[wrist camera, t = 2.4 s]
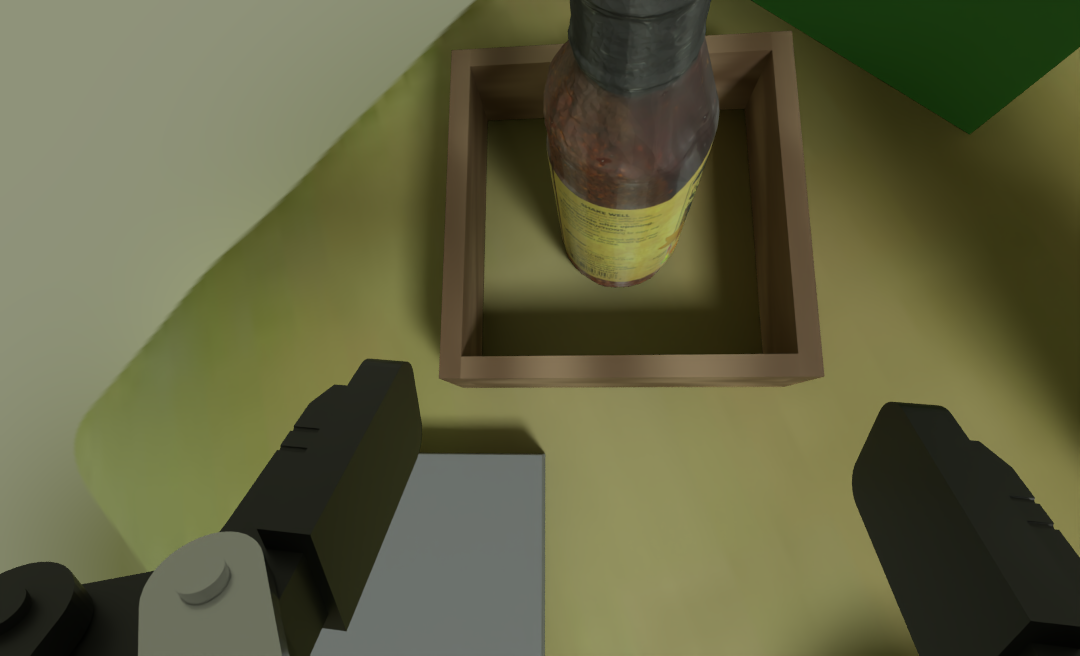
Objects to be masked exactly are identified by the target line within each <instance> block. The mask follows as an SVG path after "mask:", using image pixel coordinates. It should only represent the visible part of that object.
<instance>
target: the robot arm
mask: <svg viewBox="0 0 1080 656" xmlns="http://www.w3.org/2000/svg"><path fill="white" fill-rule="evenodd" d="M421 439H422V423H421V417H420V411H419V404H418V398H417V392H416V386H415V380H414V374H413V369H412V366H411V364H410V363H409V362H404V361H392V360H379V359H366V360H364V361H363V362H362V364H361V365H360V367H359V368H358V370H357V371H356V373H355V374H354V376H353V378H352V379H351V381H350V382H349V384H348V385H347V386H345V385H333V386H332V387H331V388H329V389H328V390H327V391H325V392H324V393H323V394H321V395H320V396H319V397H317V398H316V399H315V400H313V401H312V402H311V403H310V404H309V405H308V406H307V408H306V409H305V411H304V412H303V414H302V415H301V416H300V418H299V419H298V421H297V422H296V424H295V425H294V430H293V431H290V432H289V434H288V435H287V437H286V438H285V439H284V441H283V442H282V444H281V448H280V450H277V451H276V452H275V454H274V455H273V457H272V458H271V460H270V461H269V462H268V464H267V465H266V467H265V468H264V470H263V471H262V473H261V474H260V475H259V477H258V478H257V480H256V481H255V483H254V484H253V485H252V487H251V488H250V490H249V491H248V493H247V494H246V496H245V497H244V498H243V500H242V501H241V503H240V504H239V506H238V507H237V508H236V510H235V511H234V513H233V514H232V516H231V517H230V519H229V520H228V521H227V523H226V524H225V525H224V527H223V528H222V529H221V531H220V532H218V533H213V534H209V535H206V536H203V537H200V538H198V539H196V540H194V541H191V542H189V543H188V544H186V545H184V546H182V547H181V548H179V549H178V550H176V551H175V552H174V553H172V554H171V555H170V556H169V557H167V558H166V559H165V560H164V561H163V562H162V563H161V564H160V565H159V566H158V567H157V568H156V569H155V571H151V572H146V573H141V574H136V575H130V576H125V577H119V578H114V579H109V580H103V581H98V582H93V583H87V584H81V583H80V582H79V581H78V580H77V578H76V577H75V576H74V575H73V573H72V572H71V571H70V570H69V569H68V568H66V567H65V566H64V565H61V564H59V563H54V562H37V563H31V564H26V565H23V566H20V567H16V568H14V569H11V570H8V571H6V572H4V573H1V574H0V656H311V652H312V650H313V648H314V646H315V643H316V641H317V639H318V637H319V634H320V632H321V630H322V628H325V629H332V630H340V631H347V629H348V627H349V624H350V622H351V619H352V617H353V615H354V612H355V610H356V607H357V605H358V602H359V600H360V597H361V595H362V592H363V590H364V588H365V585H366V583H367V580H368V578H369V575H370V573H371V570H372V568H373V566H374V563H375V561H376V558H377V556H378V553H379V551H380V548H381V546H382V543H383V541H384V539H385V536H386V534H387V531H388V529H389V526H390V524H391V521H392V519H393V517H394V514H395V512H396V509H397V507H398V504H399V502H400V499H401V497H402V495H403V492H404V490H405V487H406V485H407V482H408V480H409V477H410V475H411V472H412V470H413V468H414V465H415V463H416V460H417V457H418V454H419V451H420V446H421ZM852 490H853V496H854V500H855V503H856V505H857V508H858V510H859V513H860V515H861V517H862V520H863V522H864V525H865V527H866V529H867V532H868V534H869V537H870V539H871V541H872V544H873V546H874V549H875V551H876V553H877V556H878V558H879V561H880V563H881V565H882V568H883V570H884V573H885V575H886V577H887V580H888V582H889V584H890V587H891V589H892V592H893V594H894V596H895V599H896V601H897V604H898V606H899V608H900V611H901V613H902V616H903V618H904V620H905V623H906V625H907V628H908V630H909V632H910V635H911V637H912V640H913V642H914V644H915V647H916V649H917V652H918V654H919V656H1080V557H1079V556H1078V555H1077V553H1076V552H1075V551H1074V549H1073V548H1072V547H1071V545H1070V544H1069V543H1068V541H1067V540H1066V539H1065V537H1064V536H1063V535H1062V533H1061V532H1060V531H1059V530H1055V529H1054V527H1053V524H1054V523H1053V521H1052V520H1051V519H1050V517H1049V516H1048V515H1047V513H1046V512H1045V511H1044V509H1043V508H1042V507H1041V505H1040V504H1035V502H1034V498H1035V497H1034V496H1033V495H1032V493H1031V492H1030V491H1029V489H1028V488H1027V487H1026V485H1025V484H1024V483H1023V481H1022V480H1021V479H1020V477H1019V476H1018V475H1017V473H1016V472H1015V471H1014V469H1013V468H1012V467H1011V466H1009V465H1008V464H1007V463H1006V462H1004V461H1003V460H1002V459H1001V458H999V457H998V456H997V455H996V454H994V453H993V452H992V451H991V450H989V449H988V448H987V447H986V446H984V445H983V444H982V443H981V442H979V441H971V440H969V438H968V437H967V435H966V434H965V433H964V431H963V430H962V428H961V427H960V426H959V424H958V423H957V421H956V420H955V418H954V417H953V416H952V414H951V413H950V412H949V411H948V410H947V409H946V408H944V407H942V406H938V405H926V404H913V403H901V402H888V403H886V404H885V405H884V406H883V407H882V408H881V410H880V412H879V414H878V416H877V418H876V420H875V422H874V425H873V427H872V429H871V431H870V433H869V435H868V437H867V440H866V442H865V444H864V446H863V448H862V450H861V453H860V455H859V457H858V459H857V461H856V463H855V466H854V470H853V475H852Z"/></svg>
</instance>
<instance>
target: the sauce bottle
mask: <svg viewBox="0 0 1080 656" xmlns="http://www.w3.org/2000/svg"><path fill="white" fill-rule="evenodd" d="M710 2H711V0H570V9H571V18H570V25H569V29H568V39H569V40H568V41H567V42H566V43H565V44H563V45H562V47H561V48H560V50H559V51H558V52H557V54H556V55H555V56H554V58H553V59H552V61H551V63H550V65H549V71H548V74H547V81H546V85H545V90H544V109H543V114H544V118H545V126H546V129H547V154H548V160H549V166H550V172H551V178H552V183H553V189H554V195H555V201H556V206H557V212H558V217H559V223H560V228H561V234H562V241H563V242H564V243H565V248H566V251H567V255H568V257H569V259H570V260H571V262H572V263H573V264H574V266H575V267H576V268H577V269H578V270H579V271H580V272H581V274H583V275H585V276H586V277H588V278H589V279H591V280H592V281H594V282H596V283H598V284H599V285H603V286H606V287H629V286H632V285H636V284H640V283H642V282H644V281H646V280H648V279H650V278H651V277H652V276H653V275H654V274H655V273H656V272H657V271H658V270H659V269H660V268H661V266H662V265H663V264H664V263H665V262H666V261H667V260H668V259H669V257H670V256H671V255H672V253H673V252H674V250H675V247H676V245H677V242H678V239H679V236H680V233H681V230H682V227H683V224H684V222H685V219H686V216H687V213H688V211H689V209H690V206H691V203H692V200H693V197H694V195H695V192H696V189H697V186H698V184H699V181H700V178H701V175H702V171H703V169H704V166H705V164H706V161H707V159H708V155H709V153H710V150H711V147H712V144H713V141H714V138H715V134H716V130H717V127H718V120H719V98H718V94H717V90H716V85H715V80H714V75H713V70H712V66H711V61H710V56H709V52H708V47H707V42H706V38H705V33H706V18H707V14H708V11H709V6H710Z"/></svg>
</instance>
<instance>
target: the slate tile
mask: <svg viewBox="0 0 1080 656" xmlns="http://www.w3.org/2000/svg"><path fill="white" fill-rule="evenodd" d="M311 656H545V454H503V453H419V454H418V457H417V460H416V463H415V465H414V468H413V470H412V472H411V475H410V477H409V480H408V482H407V485H406V487H405V490H404V492H403V495H402V497H401V499H400V502H399V504H398V507H397V509H396V512H395V514H394V517H393V519H392V521H391V524H390V526H389V529H388V531H387V534H386V536H385V539H384V541H383V543H382V546H381V548H380V551H379V553H378V556H377V558H376V561H375V563H374V566H373V568H372V570H371V573H370V575H369V578H368V580H367V583H366V585H365V588H364V590H363V592H362V595H361V597H360V600H359V602H358V605H357V607H356V610H355V612H354V615H353V617H352V619H351V622H350V624H349V627H348V629H347V631H340V630H332V629H325V628H322V630H321V632H320V634H319V637H318V639H317V641H316V643H315V646H314V648H313V650H312V652H311Z"/></svg>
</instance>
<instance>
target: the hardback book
mask: <svg viewBox="0 0 1080 656" xmlns="http://www.w3.org/2000/svg"><path fill="white" fill-rule="evenodd" d="M751 1H753V2H755V3H756V4H758V5H760V6H761V7H763V8H764V9H766V10H768V11H769V12H771V13H773V14H774V15H776V16H778V17H779V18H781V19H782V20H784V21H786V22H787V23H789V24H791V25H792V26H794V27H795V28H797V29H799V30H800V31H802V32H804V33H805V34H807V35H808V36H810V37H812V38H813V39H815V40H817V41H818V42H820V43H821V44H823V45H825V46H826V47H828V48H830V49H831V50H833V51H834V52H836V53H838V54H839V55H841V56H843V57H844V58H846V59H848V60H849V61H851V62H852V63H854V64H856V65H857V66H859V67H861V68H862V69H864V70H865V71H867V72H869V73H870V74H872V75H874V76H875V77H877V78H878V79H880V80H882V81H883V82H885V83H887V84H888V85H890V86H891V87H893V88H895V89H896V90H898V91H900V92H901V93H903V94H904V95H906V96H908V97H909V98H911V99H913V100H914V101H916V102H918V103H919V104H921V105H922V106H924V107H926V108H927V109H929V110H931V111H932V112H934V113H935V114H937V115H939V116H940V117H942V118H944V119H945V120H947V121H948V122H950V123H952V124H953V125H955V126H957V127H958V128H960V129H961V130H963V131H965V132H966V133H968V134H971V133H972V132H973V131H975V130H976V129H977V128H979V127H980V126H981V125H982V124H984V123H985V122H986V121H987V120H989V119H990V118H991V117H992V116H994V115H995V114H996V113H997V112H999V111H1000V110H1001V109H1002V108H1004V107H1005V106H1006V105H1007V104H1009V103H1010V102H1011V101H1012V100H1014V99H1015V98H1016V97H1018V96H1019V95H1020V94H1021V93H1023V92H1024V91H1025V90H1026V89H1028V88H1029V87H1030V86H1031V85H1033V84H1034V83H1035V82H1036V81H1038V80H1039V79H1040V78H1041V77H1043V76H1044V75H1045V74H1046V73H1048V72H1049V71H1050V70H1051V69H1053V68H1054V67H1055V66H1057V65H1058V64H1059V63H1060V62H1062V61H1063V60H1064V59H1065V58H1067V57H1068V56H1069V55H1070V54H1072V53H1073V52H1074V51H1075V50H1077V49H1078V48H1079V47H1080V0H751Z"/></svg>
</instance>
